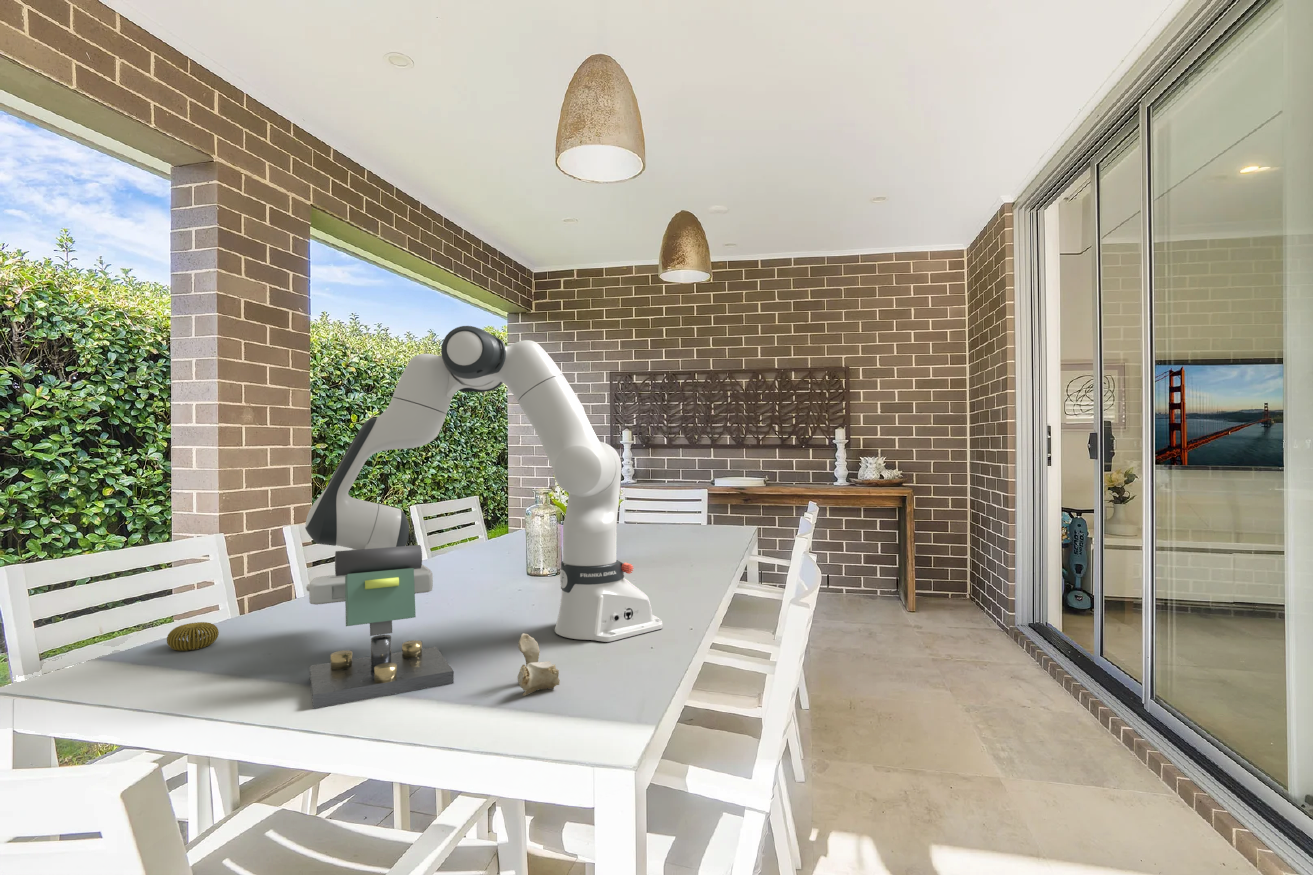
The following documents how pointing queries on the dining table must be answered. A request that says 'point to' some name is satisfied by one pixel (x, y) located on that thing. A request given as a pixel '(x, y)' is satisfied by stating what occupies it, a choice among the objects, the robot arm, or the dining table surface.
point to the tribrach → (378, 673)
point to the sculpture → (192, 636)
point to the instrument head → (379, 585)
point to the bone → (535, 668)
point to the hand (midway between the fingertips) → (377, 594)
